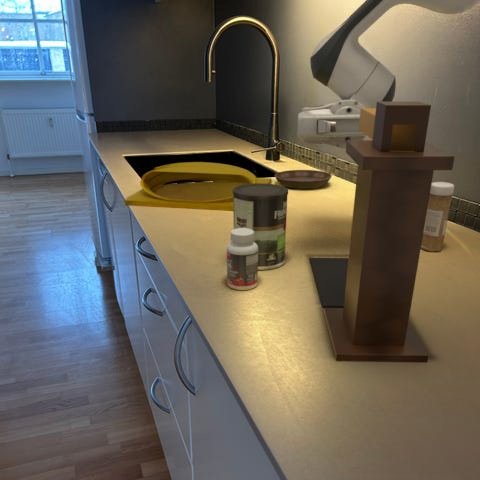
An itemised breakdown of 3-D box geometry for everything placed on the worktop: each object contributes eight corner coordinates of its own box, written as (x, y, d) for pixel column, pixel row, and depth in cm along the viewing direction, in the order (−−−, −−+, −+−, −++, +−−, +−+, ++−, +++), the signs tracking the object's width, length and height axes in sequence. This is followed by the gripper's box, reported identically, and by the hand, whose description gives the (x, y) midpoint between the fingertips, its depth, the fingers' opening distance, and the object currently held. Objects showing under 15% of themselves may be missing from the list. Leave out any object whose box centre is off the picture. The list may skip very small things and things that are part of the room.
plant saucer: (262, 184, 161) (262, 174, 160) (299, 176, 172) (300, 166, 170) (305, 193, 149) (306, 183, 148) (342, 184, 160) (343, 174, 159)
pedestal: (400, 314, 80) (428, 139, 68) (427, 362, 67) (467, 158, 55) (323, 313, 80) (337, 139, 68) (336, 360, 68) (356, 157, 56)
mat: (370, 259, 101) (370, 258, 101) (397, 308, 81) (398, 306, 81) (309, 259, 101) (309, 257, 101) (322, 307, 82) (322, 305, 82)
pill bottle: (220, 285, 90) (219, 231, 85) (241, 276, 94) (241, 224, 89) (243, 293, 87) (244, 238, 82) (263, 284, 90) (265, 230, 86)
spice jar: (447, 250, 106) (459, 184, 100) (430, 253, 104) (442, 187, 98) (431, 243, 110) (442, 180, 103) (414, 246, 108) (425, 182, 102)
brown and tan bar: (385, 129, 77) (389, 93, 74) (424, 151, 59) (431, 105, 57) (351, 129, 77) (355, 93, 75) (380, 151, 59) (386, 105, 57)
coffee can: (291, 255, 103) (294, 185, 97) (276, 273, 95) (279, 197, 88) (243, 249, 107) (243, 181, 100) (225, 266, 98) (224, 192, 92)
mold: (167, 178, 169) (165, 149, 165) (271, 182, 163) (272, 152, 159) (125, 204, 139) (121, 169, 135) (251, 211, 132) (251, 175, 128)
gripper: (397, 140, 101) (418, 144, 88) (293, 142, 101) (300, 147, 88) (400, 105, 98) (423, 104, 86) (294, 107, 99) (300, 107, 86)
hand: (359, 126), depth 87 cm, fingers open, 8 cm apart
